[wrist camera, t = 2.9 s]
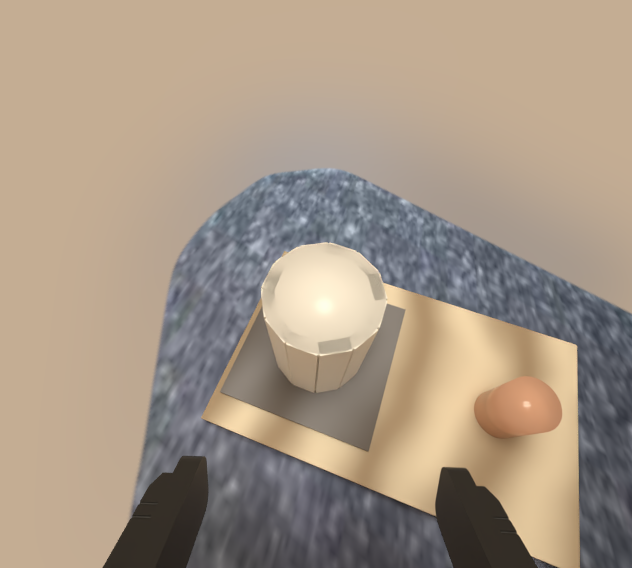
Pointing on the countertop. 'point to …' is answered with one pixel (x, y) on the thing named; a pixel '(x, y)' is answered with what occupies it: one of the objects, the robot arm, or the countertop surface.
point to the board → (422, 415)
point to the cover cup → (322, 314)
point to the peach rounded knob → (518, 408)
